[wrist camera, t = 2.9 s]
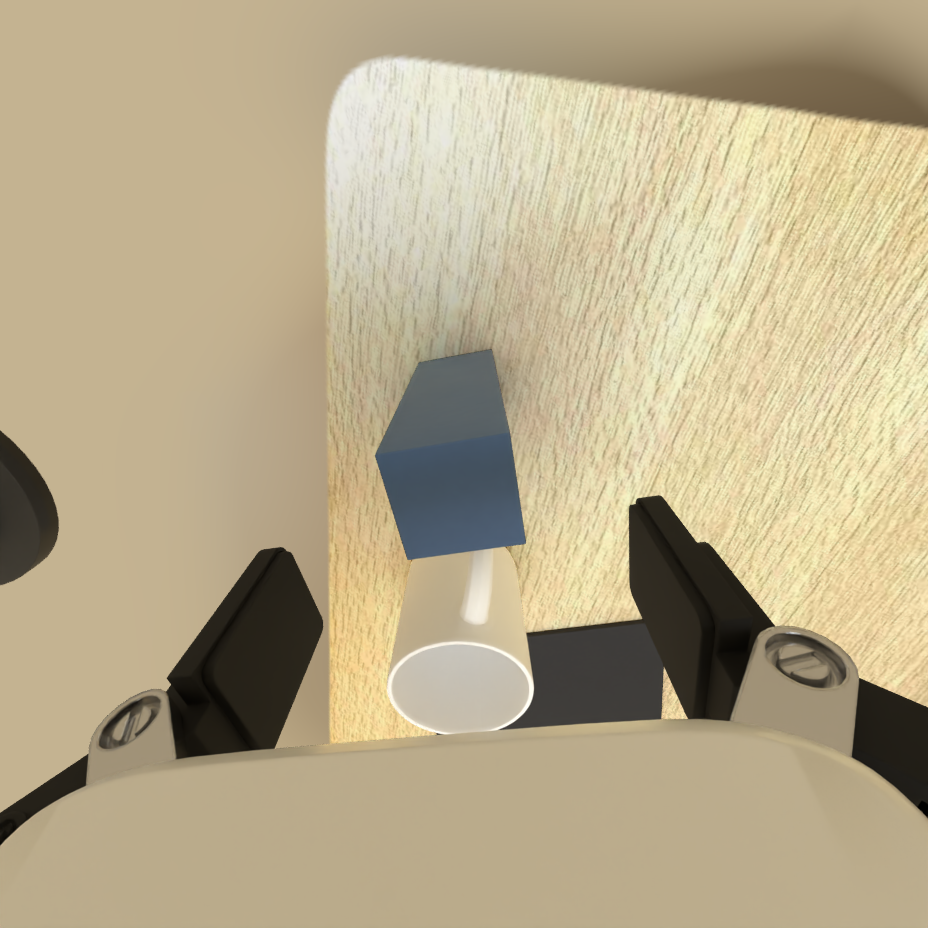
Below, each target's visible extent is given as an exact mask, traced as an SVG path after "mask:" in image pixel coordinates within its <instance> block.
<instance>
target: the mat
mask: <svg viewBox="0 0 928 928" xmlns="http://www.w3.org/2000/svg"><path fill="white" fill-rule="evenodd" d="M526 635H527V642H528V649H529V655H530V662H531V669H532V676H533V683H534V693H533V697H532V701H531V703H530V705H529V707H528V708H527V710H526V711H525V712H524V714H523V715H522V716H520V717H519V718H518V719H517V720H516V721H514V722H513V723H511V724H509V725H508V726H506V727H503V728H501V729H499V730H508V729H521V728H534V727H547V726H561V725H574V724H588V723H605V722H623V721H640V720H657V719H661V712H662V691H663V669H664V665H663V663H662V661H661V658H660V656H659V654H658V652H657V650H656V647H655V645H654V643H653V641H652V638H651V636H650V634H649V632H648V630H647V627H646V625H645V623H644V621H643V620H637V621H629V622H620V623H612V624H603V625H595V626H586V627H578V628H569V629H561V630H552V631H544V632H535V633H527V634H526ZM437 735H443V734H439V733H437Z"/></svg>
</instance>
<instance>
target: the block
mask: <svg viewBox="0 0 928 928" xmlns="http://www.w3.org/2000/svg"><path fill="white" fill-rule="evenodd" d="M375 457H376V460H377V463H378V467H379V470H380V473H381V476H382V479H383V483H384V486H385V489H386V492H387V495H388V499H389V502H390V505H391V508H392V511H393V515H394V518H395V521H396V524H397V528H398V531H399V534H400V537H401V540H402V544H403V547H404V550H405V553H406V556H407V559H408V560H412V559H420V558H427V557H434V556H441V555H449V554H456V553H463V552H470V551H478V550H485V549H492V548H499V547H507V546H514V545H521V544H526V539H525V532H524V525H523V518H522V512H521V505H520V498H519V491H518V484H517V477H516V470H515V464H514V457H513V450H512V443H511V436H510V431H509V426H508V422H507V417H506V412H505V408H504V403H503V399H502V394H501V390H500V385H499V380H498V376H497V371H496V367H495V362H494V357H493V353H492V350H491V349H490V350H484V351H479V352H474V353H468V354H463V355H457V356H452V357H446V358H441V359H436V360H430V361H425V362H419V363H418V366H417V368H416V370H415V372H414V374H413V376H412V378H411V380H410V382H409V385H408V387H407V389H406V391H405V393H404V395H403V397H402V399H401V401H400V403H399V406H398V408H397V410H396V412H395V414H394V416H393V418H392V420H391V422H390V425H389V427H388V429H387V431H386V433H385V435H384V437H383V439H382V441H381V444H380V446H379V448H378V450H377V452H376V454H375Z"/></svg>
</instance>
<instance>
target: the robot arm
mask: <svg viewBox="0 0 928 928" xmlns="http://www.w3.org/2000/svg"><path fill="white" fill-rule="evenodd" d="M629 579H630V589H631V593H632V596H633V598H634V601H635V603H636V605H637V607H638V610H639V612H640V614H641V616H642V618H643V621H644V623H645V625H646V627H647V630H648V632H649V634H650V636H651V638H652V641H653V643H654V645H655V647H656V650H657V652H658V654H659V656H660V658H661V661H662V663H663V665H664V667H665V669H666V672H667V674H668V676H669V678H670V681H671V683H672V685H673V687H674V689H675V692H676V694H677V696H678V698H679V701H680V703H681V705H682V707H683V709H684V712H685V714H686V716H687V718H688V719H657V720H640V721H623V722H605V723H588V724H574V725H561V726H547V727H534V728H521V729H508V730H494V731H481V732H468V733H456V734H443V735H431V736H418V737H406V738H394V739H382V740H370V741H358V742H346V743H334V744H323V745H311V746H300V747H288V748H277V749H274V748H275V746H276V744H277V741H278V739H279V736H280V734H281V731H282V729H283V726H284V724H285V722H286V719H287V717H288V714H289V712H290V709H291V707H292V704H293V702H294V700H295V697H296V695H297V692H298V689H299V687H300V684H301V682H302V680H303V677H304V675H305V673H306V670H307V668H308V665H309V663H310V660H311V658H312V655H313V653H314V650H315V648H316V646H317V643H318V641H319V638H320V636H321V633H322V630H323V620H322V617H321V615H320V613H319V611H318V608H317V606H316V604H315V602H314V600H313V598H312V596H311V593H310V591H309V589H308V587H307V585H306V583H305V580H304V578H303V576H302V574H301V572H300V570H299V568H298V566H297V564H296V561H295V559H294V557H293V555H292V553H291V552H287V551H286V550H285V549H284V548H282V547H279V548H271V549H264V550H261V551H259V552H258V554H257V555H256V556H255V558H254V559H253V560H252V562H251V563H250V564H249V566H248V567H247V569H246V570H245V571H244V573H243V574H242V575H241V577H240V578H239V580H238V581H237V582H236V584H235V585H234V587H233V588H232V589H231V591H230V592H229V593H228V595H227V596H226V597H225V599H224V600H223V602H222V603H221V604H220V606H219V607H218V608H217V610H216V611H215V613H214V614H213V616H212V617H211V618H210V620H209V621H208V622H207V624H206V625H205V626H204V628H203V629H202V630H201V632H200V633H199V635H198V636H197V637H196V639H195V640H194V642H193V643H192V644H191V645H190V647H189V648H188V650H187V651H186V652H185V654H184V655H183V656H182V658H181V659H180V661H179V662H178V663H177V665H176V666H175V667H174V669H173V670H172V672H171V673H170V674H169V676H168V677H167V679H168V681H169V682H170V683H171V686H170V687H169V689H168V690H167V691H166V692H165V691H163V690H161V689H151V690H147V691H144V692H141V693H139V694H137V695H135V696H133V697H131V698H129V699H128V700H126V701H125V702H123V703H122V704H120V705H119V706H118V707H117V708H115V710H113V711H112V712H111V713H110V714H109V715H107V717H106V718H105V719H104V720H103V721H102V723H101V724H100V725H99V726H98V727H97V729H96V731H95V732H94V734H93V736H92V738H91V742H90V745H89V754H87V755H86V756H84V757H83V758H82V759H80V760H79V761H77V762H76V763H74V764H73V765H71V766H70V767H68V768H67V769H65V770H64V771H62V772H61V773H59V774H58V775H56V776H55V777H53V778H52V779H50V780H49V781H47V782H46V783H44V784H43V785H41V786H40V787H38V788H37V789H35V790H34V791H32V792H31V793H29V794H28V795H26V796H25V797H23V798H22V799H20V800H19V801H17V802H16V803H14V804H13V805H11V806H10V807H8V808H7V809H5V810H4V811H2V812H1V813H0V928H928V707H926V706H923V705H921V704H919V703H916V702H914V701H912V700H909V699H907V698H905V697H902V696H900V695H898V694H895V693H893V692H891V691H888V690H886V689H884V688H881V687H879V686H877V685H874V684H872V683H870V682H867V681H865V680H863V679H860V678H859V676H858V670H857V667H856V665H855V664H854V662H853V661H852V659H851V657H850V656H849V655H848V654H847V653H846V652H845V651H844V650H843V649H842V648H840V647H839V646H838V645H837V644H835V643H833V642H832V641H830V640H829V639H827V638H826V637H824V636H822V635H819V634H817V633H815V632H812V631H810V630H806V629H802V628H799V627H794V626H776V627H775V625H774V624H773V623H772V622H771V620H770V619H769V618H768V617H767V615H766V614H765V613H764V611H763V610H762V609H761V608H760V606H759V605H758V604H757V603H756V601H755V600H754V599H753V598H752V596H751V595H750V594H749V593H748V591H747V590H746V589H745V588H744V586H743V585H742V584H741V583H740V581H739V580H738V579H737V578H736V576H735V575H734V574H733V573H732V571H731V570H730V569H729V568H728V566H727V565H726V564H725V562H724V561H723V560H722V559H721V557H720V556H719V555H718V554H717V552H716V551H715V550H714V549H713V547H712V546H710V545H709V544H708V543H706V542H700V543H697V542H696V541H695V539H694V538H693V537H692V535H691V534H690V533H689V532H688V530H687V529H686V528H685V526H684V525H683V524H682V522H681V521H680V520H679V518H678V517H677V516H676V514H675V513H674V512H673V510H672V509H671V508H670V506H669V505H668V504H667V502H666V501H665V500H664V498H663V497H662V496H651V497H644V498H638V499H637V500H636V504H634V505H630V507H629Z"/></svg>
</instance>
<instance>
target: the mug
mask: <svg viewBox="0 0 928 928" xmlns="http://www.w3.org/2000/svg"><path fill="white" fill-rule="evenodd" d="M387 691H388V696H389V699H390V701H391V703H392V705H393V707H394V708H395V709H396V711H397V712H398V713H399V714H400V715H401V716H402V717H404V718H405V719H406V720H408V721H409V722H411V723H412V724H414V725H416V726H418V727H420V728H423V729H425V730H428V731H431V732H435V733H439V734H456V733H468V732H481V731H494V730H499V729H501V728H503V727H506V726H508V725H509V724H511V723H513V722H514V721H516V720H517V719H518V718H519V717H520V716H522V715H523V714H524V712H525V711H526V710H527V708H528V707H529V705H530V703H531V701H532V697H533V693H534V683H533V676H532V669H531V662H530V655H529V649H528V642H527V635H526V628H525V621H524V614H523V608H522V601H521V594H520V587H519V580H518V574H517V569H516V566H515V562H514V560H513V558H512V556H511V554H510V552H509V551H508V550H507V549H506V547H499V548H492V549H485V550H478V551H470V552H463V553H456V554H449V555H441V556H434V557H427V558H420V559H413V560H412V562H411V565H410V569H409V573H408V577H407V582H406V587H405V593H404V598H403V603H402V608H401V613H400V618H399V623H398V628H397V634H396V639H395V644H394V649H393V654H392V659H391V664H390V669H389V674H388V680H387Z"/></svg>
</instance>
